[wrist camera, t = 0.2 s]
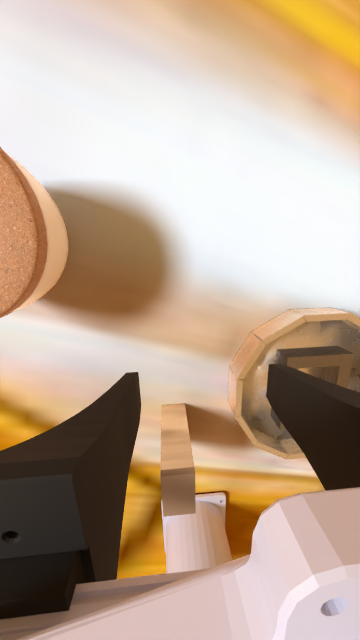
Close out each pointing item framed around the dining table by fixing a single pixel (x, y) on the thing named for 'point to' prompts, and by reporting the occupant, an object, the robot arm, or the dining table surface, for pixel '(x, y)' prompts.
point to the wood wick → (176, 462)
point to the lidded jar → (27, 238)
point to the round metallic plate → (297, 352)
